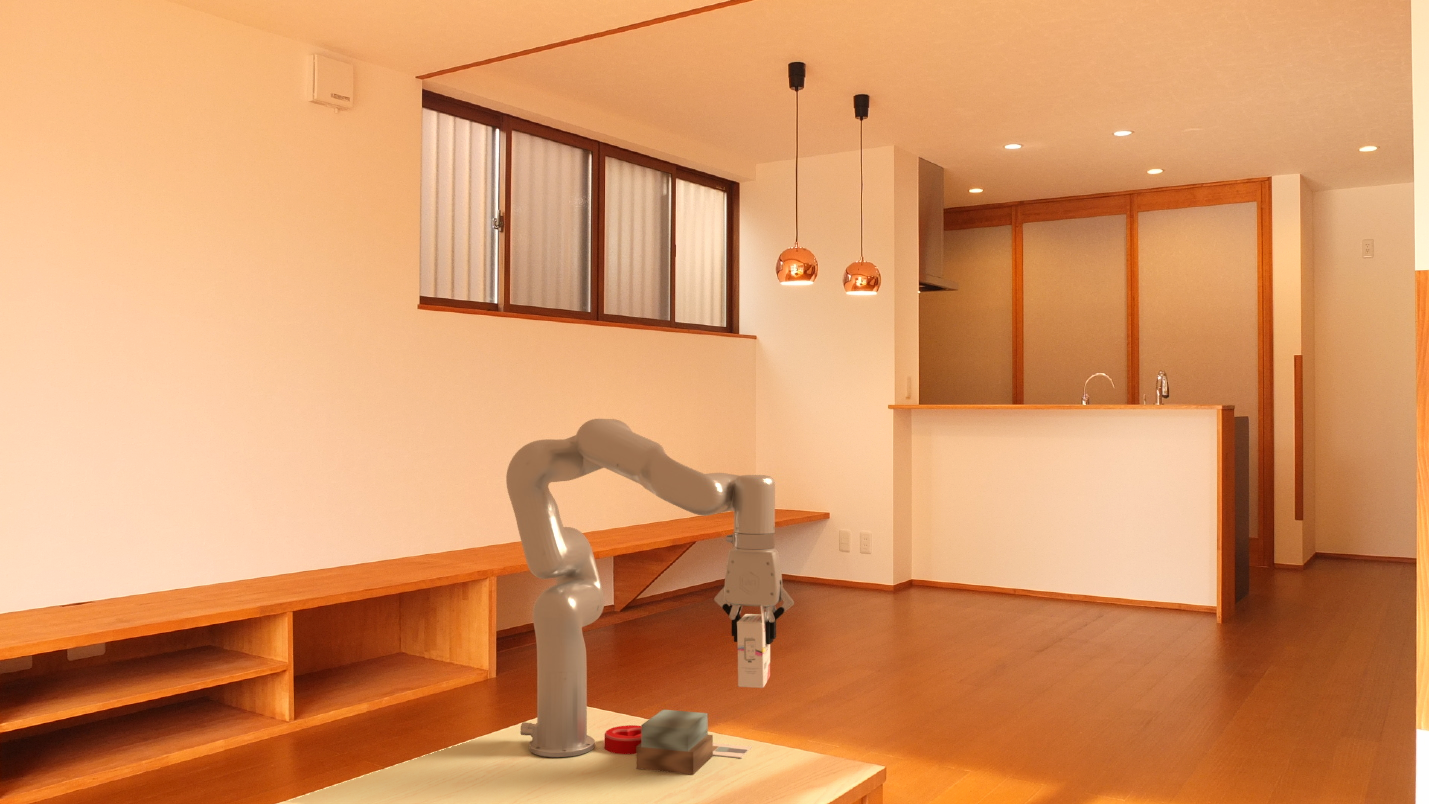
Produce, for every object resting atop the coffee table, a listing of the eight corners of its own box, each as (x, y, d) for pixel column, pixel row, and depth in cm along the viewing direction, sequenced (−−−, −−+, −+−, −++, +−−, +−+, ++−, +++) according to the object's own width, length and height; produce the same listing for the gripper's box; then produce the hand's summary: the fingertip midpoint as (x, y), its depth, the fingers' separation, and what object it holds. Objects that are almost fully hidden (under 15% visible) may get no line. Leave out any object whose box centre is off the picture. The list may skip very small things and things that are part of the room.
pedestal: (636, 768, 189) (636, 724, 189) (658, 751, 199) (658, 709, 199) (693, 774, 185) (693, 729, 186) (712, 756, 196) (712, 713, 196)
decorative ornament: (623, 759, 195) (623, 742, 195) (594, 747, 203) (594, 731, 203) (663, 748, 202) (663, 732, 202) (634, 737, 209) (634, 721, 209)
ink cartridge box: (744, 676, 194) (744, 597, 194) (770, 677, 193) (770, 598, 193) (736, 687, 186) (736, 604, 186) (763, 688, 185) (763, 605, 185)
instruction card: (691, 753, 198) (691, 752, 198) (703, 742, 204) (703, 741, 204) (741, 758, 194) (741, 756, 194) (751, 747, 201) (751, 746, 201)
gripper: (703, 542, 189) (702, 642, 189) (794, 546, 184) (794, 649, 183) (716, 538, 196) (715, 634, 196) (804, 542, 191) (804, 641, 190)
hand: (753, 640), depth 190 cm, fingers closed on ink cartridge box, 5 cm apart
